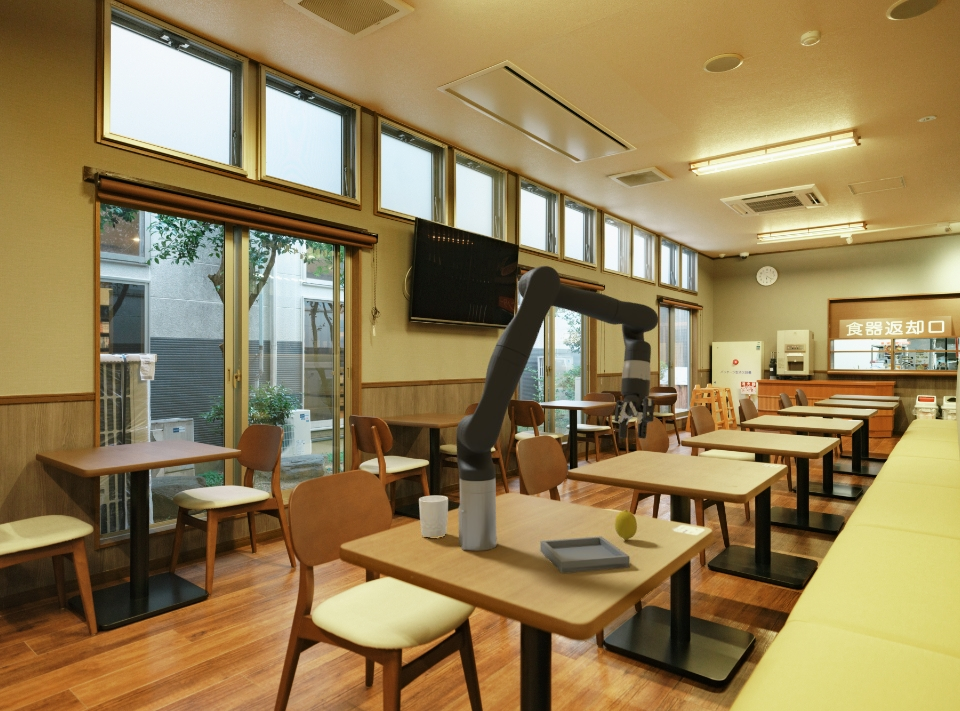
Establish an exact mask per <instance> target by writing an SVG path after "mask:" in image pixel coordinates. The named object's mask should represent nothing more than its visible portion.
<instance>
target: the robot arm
mask: <svg viewBox="0 0 960 711" xmlns="http://www.w3.org/2000/svg"><path fill="white" fill-rule="evenodd" d="M518 281H519V282H518V285H517V288H518V292H519V294H520V296H521V297H522V300H521V302H520V306H519V308H518V310H517V312H515V315H514V316H513V317H512V319H511V320H510V322H509V323H508V324H507V325H506V327H505V329H504V330H503V331H502V334H501V335H500V336H499V339H498V340H497V342H496V344H495V346H494V349H493V351H492V354H491V356H490V359H489V362H488V365H487V369H486V374H485V381H484V388H483V392H482V395H481V397H480V400H479V402H478V405H477V406H476V409H475V411H474V412H473V413H472V414H468V415H466V416H464V417H462V419H461V420H460V421H459V422H458V425H457V428H456V438H455V439H456V462H457V467H458V472H459V477H458V478H459V506H458V544H459V543H460V544H459V546H460V545H461V546H460V547H462V548H461V550H462V549H463V551H468V550H469V551H474V552H475V551H476V552H477V551H487V550H488V551H489V550H491V549H495V548H496V547H497V543H498V542H497V539H498V538H497V494H496V493H497V490H496V488H497V486H496V480H497V479H496V466H495V463H494V462H493V457H492V448H494V446H495V445H496V444H497V442H498V440H499V437H500V433H501V431H502V427H503V423H504V420H505V416H506V413H507V410H508V407H509V405H510V403H511V400H512V398H513V397H514V394H515V392H516V389H517V387H518V385H519V383H520V380H521V377H522V375H523V374H524V371H525V369H526V367H527V364H528V362H529V360H530V356H531V354H532V351H533V349H534V346H535V345H536V344H535V343H536V341H537V339H538V336H539V334H540V330H541V328H542V325H543V323H544V321H545V318H546V316H547V315H548V313H549V312H550V309H551V307H554V308H560V309H565V310H567V311H571V312H574V313H577V314H580V315H584V316H585V317H588V318H592V319H595V320H597V321H600V322H604V323H606V324H608V325H609V324H610V325H613V326H614V325H621V332H622V337H623V338H622V339H623V343H624V355H623V356H624V358H623V360H624V361H623V366H622V369H621V370H622V372H621V374H622V375H621V385H620V386H621V387H620V394H621V396H623V397H624V398H623V400H617V401H616V403H615V411H614V412H615V413H614V422H617V423H618V437H619V438H621V439H627V438H628V427H629V426H628V425H629V424H628V423H629V421H630V420H632V419H633V417H636V419H637V422H638V423H637V436H636V437H637V439H641V440H642V439H646V438H647V432H648V424H650V423H652V422H653V421H654V411H655V410H654V403H655V400H654V399H652V398H649V396H650V391H651V390H650V389H651V386H650V385H651V375H652V374H651V373H652V372H651V371H652V370H651V358H652V357H651V355H652V346H651V344H650V343H649V342H648V341H645V335H644V333H648V332H650V331H652V330H654V329H655V328H656V327H657V325H658V324H659V315H658V313H657V312H656V311H655V309H653V308H652V307H651V306H648V305H645V304H643V303H642V304H641V303H637V302H631V301H625V300H624V301H623V300H620V299H617V298H616V297H612V296H609V295H606V294H603V293H599V292H595V291H592V290H591V291H590V290H584V289H579V288H573V287H570V286H567V285H564V284H562V283H561V278H560V274H559V272H558V271H557V270H556V269H555V268H554V267H552V266H548V265H542V266H537V267H534V268H533V269H530V270H529V271H527V272H525V273H524V274H523V275H521V277H520V278H519V280H518Z"/></svg>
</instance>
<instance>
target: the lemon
mask: <svg viewBox="0 0 960 711" xmlns="http://www.w3.org/2000/svg"><path fill="white" fill-rule="evenodd" d="M614 521H615V522H614V528H615V531H616V534H617V535H618V536H619V537H620V538H622V539H623V540H624V541H625V540H627V541H628V540H629V539H631V538H633V537H634V536H636V533H637V530H638V524H637V519H636V516H635V515H634V514H633V513H632V512H631V511H628V509H623V510H622V511H620V512H619V513H617V515H616V517H615V520H614Z"/></svg>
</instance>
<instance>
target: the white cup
mask: <svg viewBox="0 0 960 711" xmlns="http://www.w3.org/2000/svg"><path fill="white" fill-rule="evenodd" d="M418 505H419V506H418V508H419V519H420V520H419V522H420V530H421V536H422V535H423V536H427V537H438V536H443V535H445V534H446V533H447V530H448V528H447V526H448V513H449V512H448V511H449V498H448V496H445V495H433V494H432V495H426V496H422V497H421V496H420V497H419V498H418ZM447 534H448V533H447Z"/></svg>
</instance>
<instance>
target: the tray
mask: <svg viewBox="0 0 960 711" xmlns="http://www.w3.org/2000/svg"><path fill="white" fill-rule="evenodd" d="M539 542H540V543H539V544H540V552H541V553H542V555H543V556H545V558H547V560H548V561H549V562H550V561H551V562H552V563H553V564H552V563H551V562H550V563H551V564H552V565H553V566H554V567H555V568H556V569H557V570H558V571H559V572H560V573H561V574H568V573H569V574H571V573H580V572H592V571H593V572H594V571H605V570H615V569H616V570H617V568H618V569H627V568H628V567H629V568H630V567H631V566H630V565H631V563H630V562H631V560H630V559H631V558H630V555H628V554H627V553H625V552H624V551H623V550H621V549H620V548H619V547H617V546H616V545H614V544H613V543H611V541H609V540H608V539H606V538H605V537H603V536H601V535H599V536H589V537H576V538H575V537H573V538H563V539H562V538H561V539H550V540H549V539H548V540H540V541H539Z"/></svg>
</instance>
